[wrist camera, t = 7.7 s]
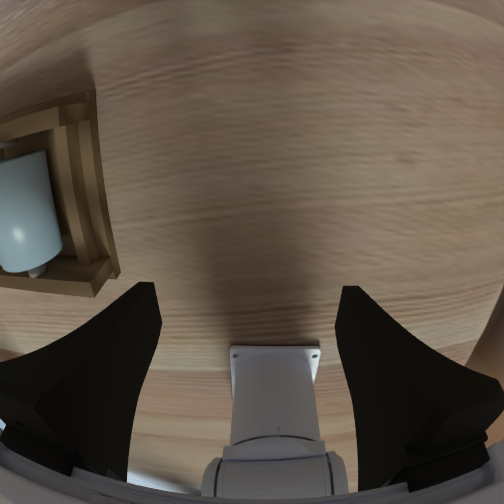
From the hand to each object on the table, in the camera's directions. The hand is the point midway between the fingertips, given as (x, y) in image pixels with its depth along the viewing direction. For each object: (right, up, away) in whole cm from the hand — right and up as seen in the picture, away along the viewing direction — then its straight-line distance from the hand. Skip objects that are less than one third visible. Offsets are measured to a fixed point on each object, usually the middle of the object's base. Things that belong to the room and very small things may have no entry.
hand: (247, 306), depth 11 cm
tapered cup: (-16, +6, +7) cm, 18 cm away
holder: (-16, +7, +8) cm, 19 cm away
